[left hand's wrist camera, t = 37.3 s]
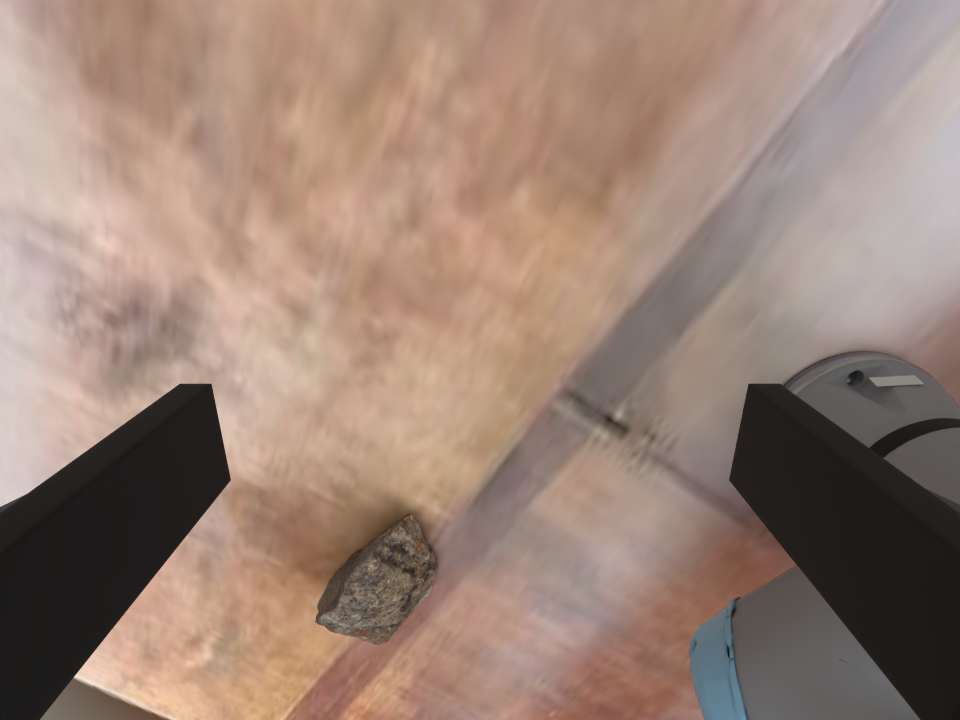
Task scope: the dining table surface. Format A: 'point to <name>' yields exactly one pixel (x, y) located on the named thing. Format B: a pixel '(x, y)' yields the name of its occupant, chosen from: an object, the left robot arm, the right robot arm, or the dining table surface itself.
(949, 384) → the dining table surface
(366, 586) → the rock
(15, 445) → the dining table surface
